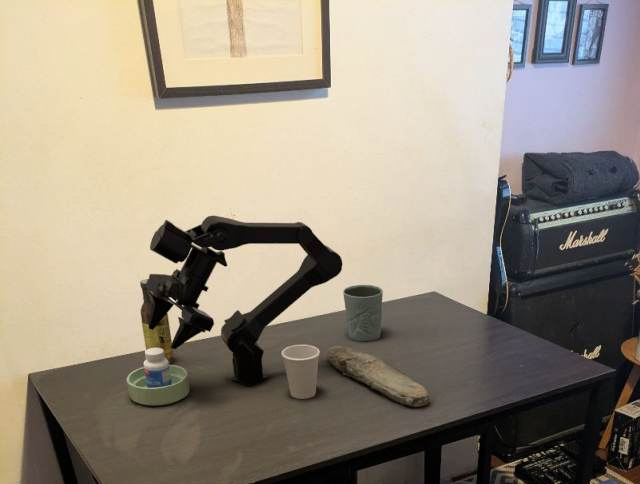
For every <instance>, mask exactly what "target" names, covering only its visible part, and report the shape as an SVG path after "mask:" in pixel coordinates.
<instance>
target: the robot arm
mask: <svg viewBox="0 0 640 484" xmlns="http://www.w3.org/2000/svg"><path fill="white" fill-rule="evenodd" d="M254 244H255V245H256V244H257V245H268V244H269V245H272V244H273V245H285V244H286V245H299V246H300V247H301V249H302V250H303V251H304V252H305V253H306V256H305V257H304V258H303V261H302V262H301V263H300V267H299V268H298V270H297V271H296V272H295V273H294V274H292V276H291V277H289V278H288V279H287V280H285V281H284V282H283V283H282V284H281V285H279V286H278V287H277V288H276V289H275V290H274V291H273V292H271V293H270V294H269V295H268V296H267V297H266V298H264V299H263V300H262V301H261V302H260V303H259V304H258V305H256V306H255V307H254V308H253V309H251V310H250V311H248V312H245V313H242V312H241V311H240V310H239V309H237V310H236V311H234V313H233V314H232V315H231V316H230V317H229V318H226V319H224V320H223V321H224V322H223V323H224V324H223V325H222V326H221V328H220V336H221V337H220V338H221V339H222V340H223V343H224V344H225V345H226V347H227V349H228V350H229V351H230V352H231V353H232V367H233V374H234V375H233V376H230V378H229V380H230V381H232V382H235V383H237V384H240V385H242V386H245V387H253V386H254V385H256V384H258V383H261V382H263V381H265V380H267V379H269V375H268V374H266V373H264V369H263V354H264V351H265V350H264V349H263V348H262V347H261V346H260V344H259V343H258V341H259V339H260V337H261V335H262V333H263V331H264V329H265V328H266V327H267V326H269V325H270V324H271V323H272V322H273V321H274V320H276V319H277V318H278V317H279V316H280V315H281V314H283V313H284V312H285V311H286V310H287V309H288V308H289V307H291V306H292V305H293V304H294V303H295V302H296V301H298V300H299V299H300V298H301V297H302V296H303V295H305V294H306V293H307V292H308V291H309V290H311V289H312V288H314V287H317V286H321V285H323V284H326V283H328V282H330V281H331V280H332V279H334V278H336V277H338V276H339V275H340V273H341V272H342V271H343V259H342V257H341V256H340V254H339V253H338V252H336V251H335V250H333V249H332V248H331V247H330V246H328V245H325V244H324V243H323V242H322V241H321V239H319V237H317V235H316V234H315V233H314V232H313V230H312V229H311V227H309V226H308V225H307V224H305V223H303V222H302V221H296V222H246V221H245V222H244V221H240V220H236V219H233V218H229V217H224V216H218V215H208V216H206V217H205V218H204V219H203V221H202V222H201V224H198V225H196V226H194V227H192V228H189V229H186V230H183V229H181V228H180V227H178V226H176V225H175V224H174V223H173V222H172V221H169V220H168V219H165V220H164V222H163V223H162V224H161V225H160V226H159V227H158V229H157V230H156V231H155V232H154V233H153V236H152V238H151V241H150V245H149V250H150V251H152V252H153V253H155V254H157V255H159V256H161V257H163V258H164V259H166V260H168V261H170V262H172V263H174V264H178V263H183V262H184V263H183V265H182V267H181V269H178V268H176V269H175V270H173V272H172V274H165V273H163V274H162V273H150V274H149V275H148V278H147V279H148V280H147V282H146V284H145V287H146V288H147V293H148V295H149V297H150V299H151V312H150V319H149V326H148V328H149V329H151V330H153V329H154V328H155V327H156V326H157V325H158V324H159V323H160V321H161V320H162V319H163V318H164V316H165V315H166V314H167V313H169V312H170V311H171V309H172V308H173V307H174V306H175V307H176V308H178V309H179V310H180V311H181V314H180V315H181V317H180V316H178V317H177V319H178V324H179V325H178V328H177V329H176V333H175V335H174V337H173V339H172V344H171V348H172V349H173V350H176V349H178V348H180V346H182V345H183V344H185V343H187V342H188V341H189V340H191V339H192V338H194V337H195V336H197V335H199V334H201V333H206V331H207V332H209V333H210V332H212V329H213V327H214V325H215V321H214V318H213V317H211V315H210V314H208V313H207V312H206V311H204V310H202V309H199V307H200V303H198V300H199V298H200V296H201V294H202V293H203V291H204V292H205V293H207V292H208V290H209V286H207V283H208V281H209V280H210V277H211V276H212V273H213V272H214V270H215V268H216V266H217V264H220V265H221V266H223V267H228V262H227V260H226V254H225V252H224V251H226V250H232V249H237V248H239V247H242V246H244V245H245V246H246V245H254Z"/></svg>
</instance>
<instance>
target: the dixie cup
mask: <svg viewBox="0 0 640 484" xmlns="http://www.w3.org/2000/svg"><path fill="white" fill-rule="evenodd" d="M320 354H321V350H319V348H318V347H316V346H313V345H310V344H293V345H290V346H286V347H285V348H284V349H282V351H281V356H282V358H283V364H284V368H285V369H284V370H285V374H286V378H287V385H288V388H289V394H290V396H291V397H292V398H295V399H299V400H306V399H311V398H313V397H314V396H315V395H316V393H317V381H318V369H319V356H320Z"/></svg>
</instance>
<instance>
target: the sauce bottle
mask: <svg viewBox="0 0 640 484" xmlns="http://www.w3.org/2000/svg"><path fill="white" fill-rule="evenodd" d="M148 279H149V278H146V279H142V280H140V282H139V285H140V288H141V291H142V300H143V303H142V305H141V307H140V318H141V327H142V334H143V340H144V346H145V351H146V350H147V349H150V348H161V349H163V350H164V358H166V359H167V360H168V362H169V364H170V365H172V364H173V362H174V349H172V348H171V344H172V341H173V339H172V334H171V328H170V327H171V326H170V320H169V314H168V313H169V312H168V313H167V314H166V315H165V316H164V318H163V319H162V320H161V321H160V323H159V324H158V325H157V326H156V327H155V328H154V329H153V330H151V329H149V328H148V326H149V319H150V312H151V299H150V297H149V295H148V293H147V288H146V287H145V284H146V282H147V280H148Z"/></svg>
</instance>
